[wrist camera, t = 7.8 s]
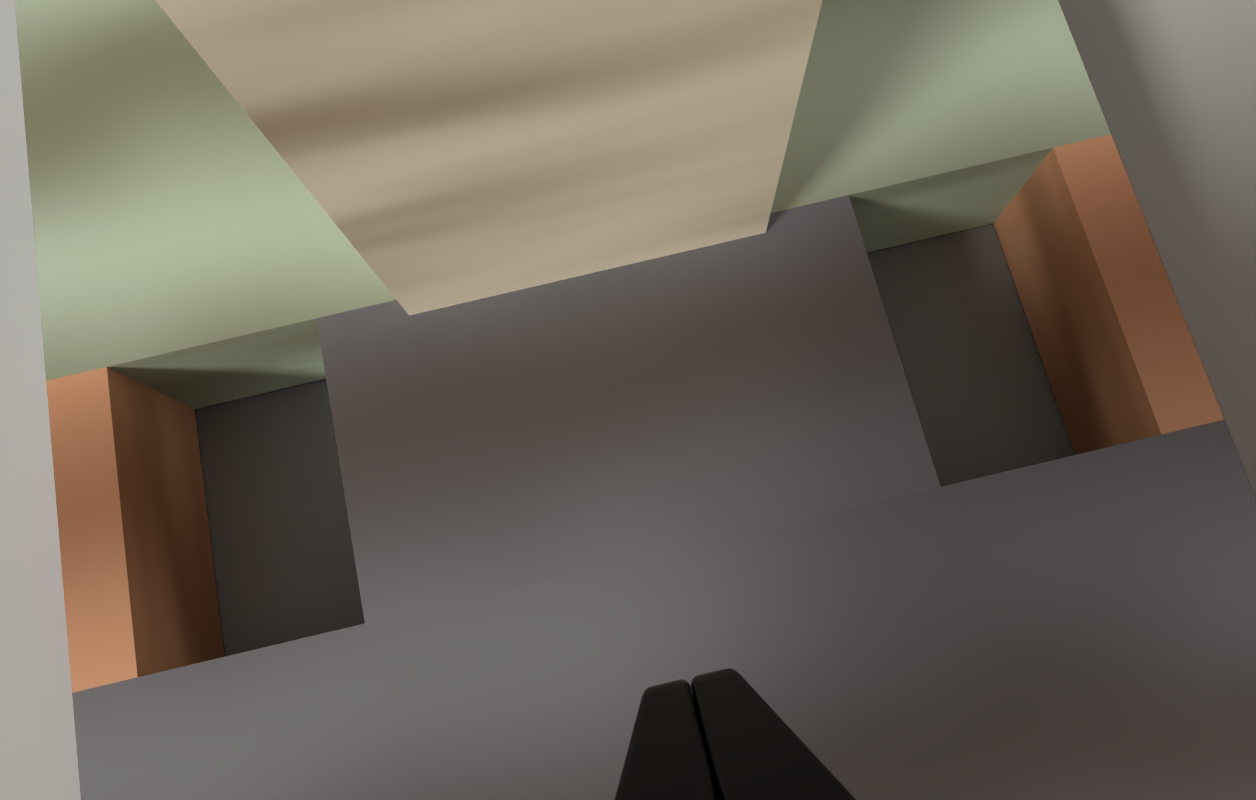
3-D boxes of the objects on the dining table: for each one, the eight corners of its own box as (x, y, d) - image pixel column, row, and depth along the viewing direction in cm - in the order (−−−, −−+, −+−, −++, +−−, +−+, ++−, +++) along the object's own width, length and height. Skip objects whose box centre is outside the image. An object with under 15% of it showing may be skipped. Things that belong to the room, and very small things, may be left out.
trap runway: (1328, 989, 15) (1552, 1108, 12) (235, 1261, 15) (86, 1476, 11) (880, -228, 21) (927, -418, 18) (92, -51, 21) (-36, -205, 17)
